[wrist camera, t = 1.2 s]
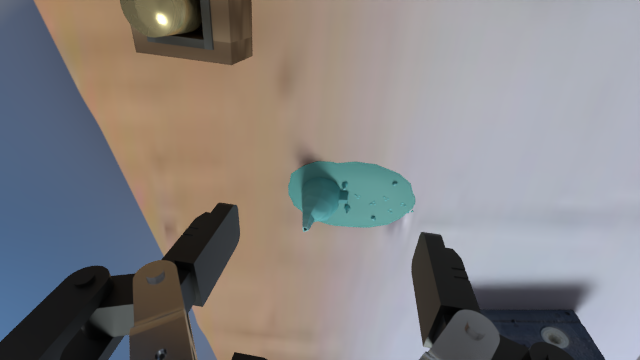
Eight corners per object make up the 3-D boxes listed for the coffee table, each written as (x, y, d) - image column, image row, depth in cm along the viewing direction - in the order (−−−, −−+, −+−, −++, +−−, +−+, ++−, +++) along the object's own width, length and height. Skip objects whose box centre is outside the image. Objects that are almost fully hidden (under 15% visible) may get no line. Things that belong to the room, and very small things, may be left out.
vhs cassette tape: (448, 318, 52) (463, 379, 44) (449, 307, 51) (464, 368, 42) (569, 321, 48) (612, 389, 40) (574, 309, 47) (619, 377, 38)
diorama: (414, 235, 44) (422, 281, 37) (283, 220, 47) (266, 261, 40) (431, 163, 38) (445, 200, 31) (279, 150, 41) (259, 182, 33)
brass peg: (157, -24, 27) (113, -30, 23) (203, -19, 27) (167, -24, 22) (165, 29, 30) (127, 34, 25) (207, 34, 29) (176, 40, 25)
